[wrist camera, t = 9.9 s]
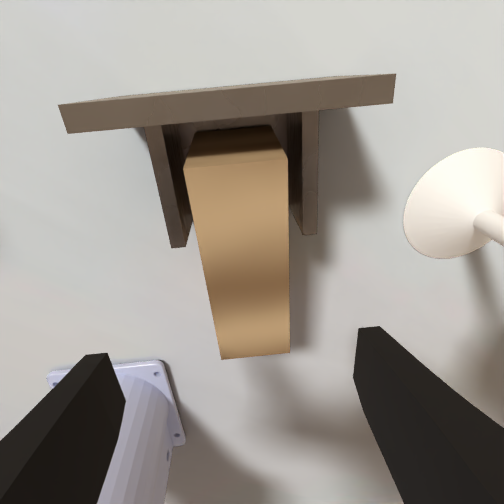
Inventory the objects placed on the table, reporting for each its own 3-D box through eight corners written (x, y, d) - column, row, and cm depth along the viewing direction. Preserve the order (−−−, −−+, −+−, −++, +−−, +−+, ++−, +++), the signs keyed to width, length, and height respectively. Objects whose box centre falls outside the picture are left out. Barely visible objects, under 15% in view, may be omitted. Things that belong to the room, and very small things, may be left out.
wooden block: (194, 132, 15) (183, 168, 11) (270, 125, 15) (287, 158, 11) (222, 296, 20) (221, 359, 16) (277, 290, 20) (289, 352, 16)
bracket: (332, 196, 18) (376, 246, 12) (149, 214, 17) (114, 272, 12) (336, 76, 15) (396, 73, 10) (120, 96, 15) (58, 105, 9)
